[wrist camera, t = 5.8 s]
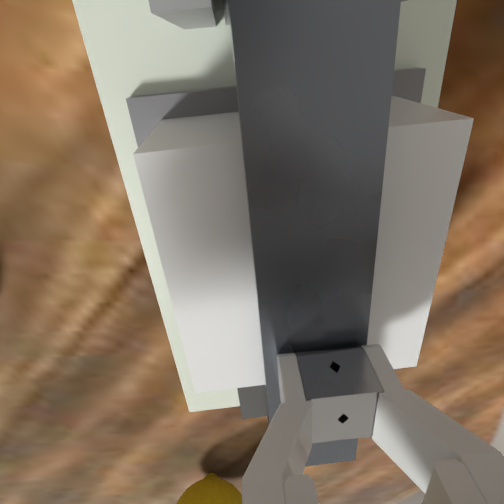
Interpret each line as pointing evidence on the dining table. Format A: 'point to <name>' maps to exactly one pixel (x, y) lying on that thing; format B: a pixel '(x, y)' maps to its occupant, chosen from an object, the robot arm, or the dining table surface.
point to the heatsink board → (234, 186)
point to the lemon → (211, 492)
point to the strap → (313, 170)
